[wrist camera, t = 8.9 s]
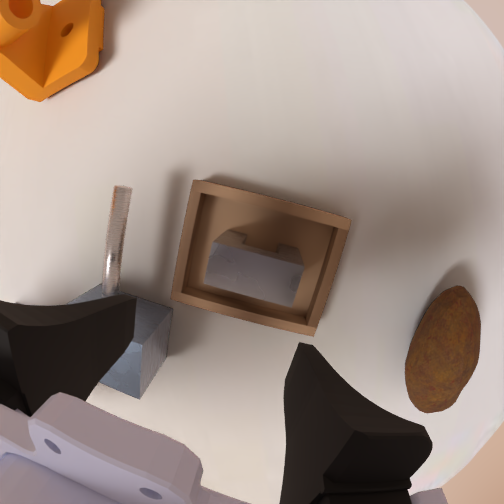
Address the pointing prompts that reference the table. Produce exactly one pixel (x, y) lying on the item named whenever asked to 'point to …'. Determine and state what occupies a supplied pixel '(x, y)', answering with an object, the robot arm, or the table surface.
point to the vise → (147, 313)
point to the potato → (443, 351)
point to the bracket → (48, 44)
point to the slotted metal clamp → (254, 269)
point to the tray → (263, 237)
